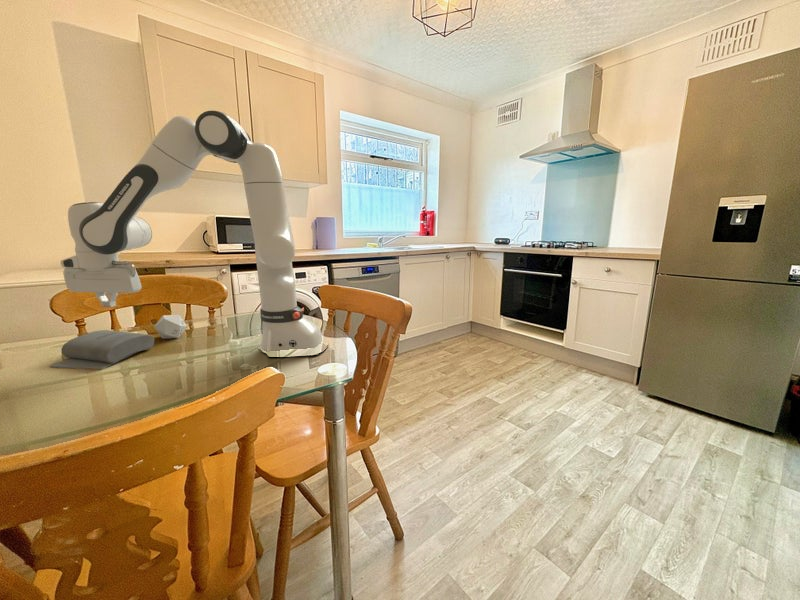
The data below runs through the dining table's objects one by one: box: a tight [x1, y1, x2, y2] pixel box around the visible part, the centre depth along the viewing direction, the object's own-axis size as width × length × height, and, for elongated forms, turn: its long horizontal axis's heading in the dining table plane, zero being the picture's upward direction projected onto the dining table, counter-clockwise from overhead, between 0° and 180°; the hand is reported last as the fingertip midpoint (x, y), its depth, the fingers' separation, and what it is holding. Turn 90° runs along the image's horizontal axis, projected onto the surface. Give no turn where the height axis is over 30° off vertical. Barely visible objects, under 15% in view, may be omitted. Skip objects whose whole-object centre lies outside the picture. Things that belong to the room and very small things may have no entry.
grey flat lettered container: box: [60, 329, 155, 364], centre depth 102 cm, size 15×6×20 cm
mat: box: [49, 351, 140, 370], centre depth 101 cm, size 16×16×1 cm
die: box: [153, 314, 188, 340], centre depth 117 cm, size 8×9×10 cm
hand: (109, 306), depth 96 cm, fingers closed
